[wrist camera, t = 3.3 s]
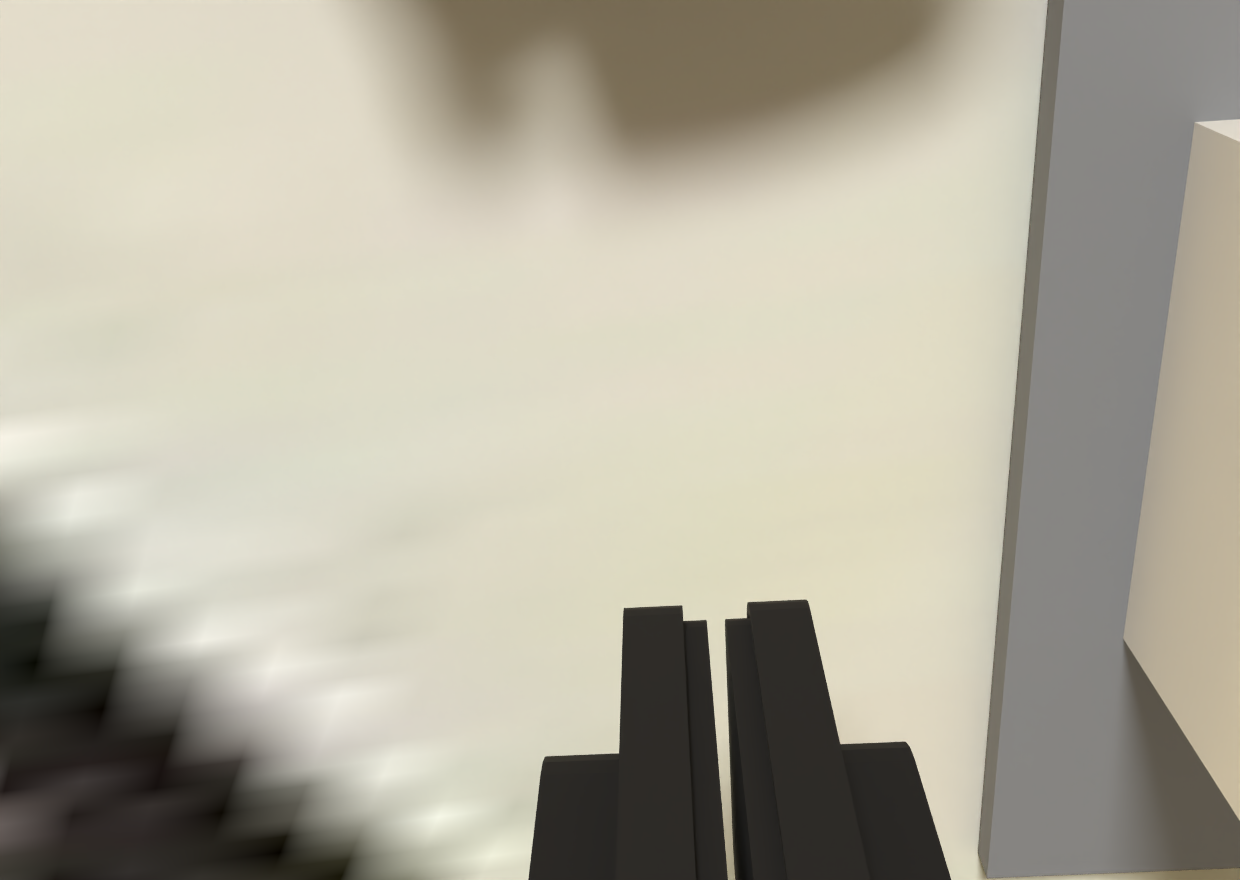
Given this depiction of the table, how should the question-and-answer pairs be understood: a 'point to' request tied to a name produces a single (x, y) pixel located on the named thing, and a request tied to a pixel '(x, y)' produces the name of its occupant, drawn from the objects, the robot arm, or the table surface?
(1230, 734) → the tile
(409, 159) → the table surface
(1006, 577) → the mat
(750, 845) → the robot arm
